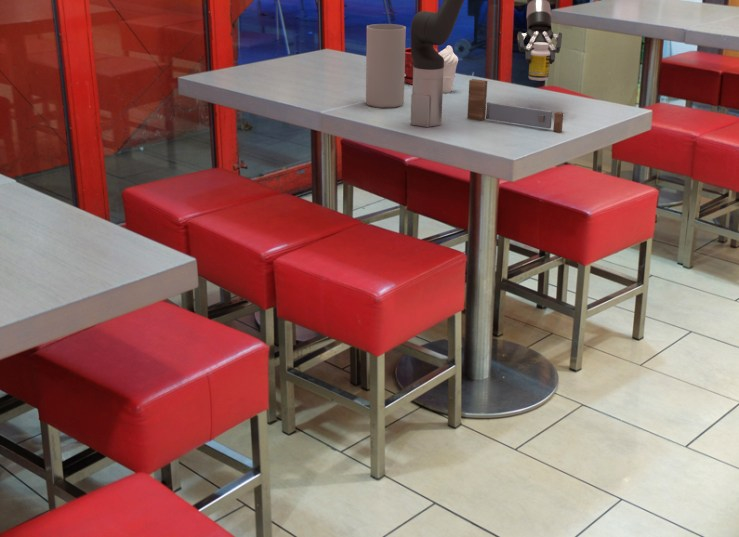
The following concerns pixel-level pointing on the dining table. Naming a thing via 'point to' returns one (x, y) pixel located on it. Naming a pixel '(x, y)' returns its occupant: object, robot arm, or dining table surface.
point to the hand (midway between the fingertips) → (540, 62)
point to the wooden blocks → (479, 104)
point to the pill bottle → (539, 62)
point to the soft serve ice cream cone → (448, 68)
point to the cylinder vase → (385, 65)
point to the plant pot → (409, 66)
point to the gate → (519, 115)
